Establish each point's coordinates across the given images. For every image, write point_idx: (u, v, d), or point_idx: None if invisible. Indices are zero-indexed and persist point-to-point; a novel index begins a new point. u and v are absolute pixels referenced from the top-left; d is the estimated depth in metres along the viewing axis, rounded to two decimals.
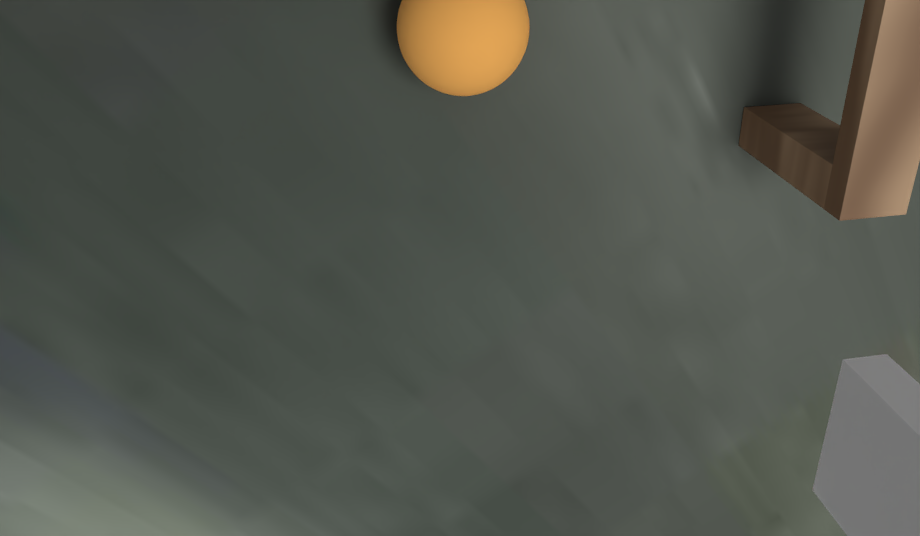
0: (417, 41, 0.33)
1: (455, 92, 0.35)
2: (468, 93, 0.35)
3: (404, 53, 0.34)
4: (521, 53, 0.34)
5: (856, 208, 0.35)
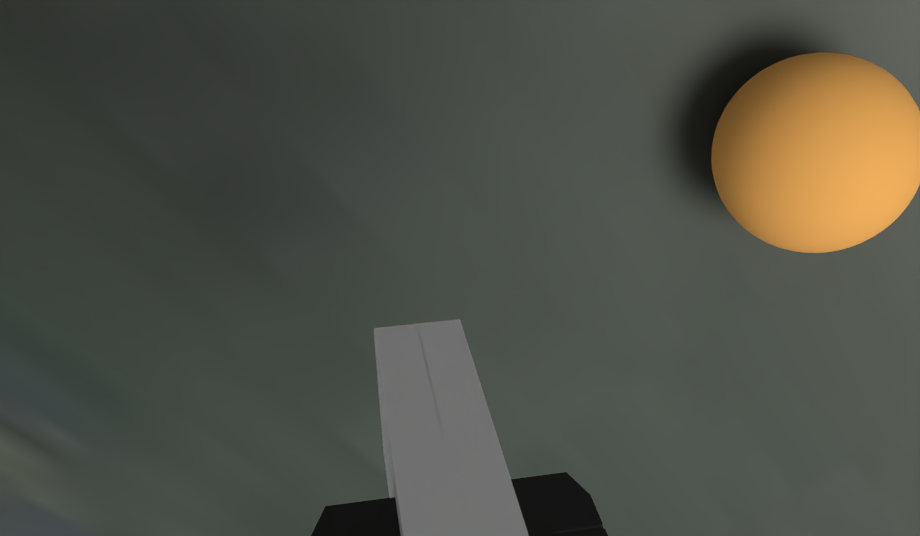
0: (773, 185, 0.22)
1: (806, 251, 0.23)
2: (823, 252, 0.23)
3: (734, 194, 0.23)
4: None
5: None
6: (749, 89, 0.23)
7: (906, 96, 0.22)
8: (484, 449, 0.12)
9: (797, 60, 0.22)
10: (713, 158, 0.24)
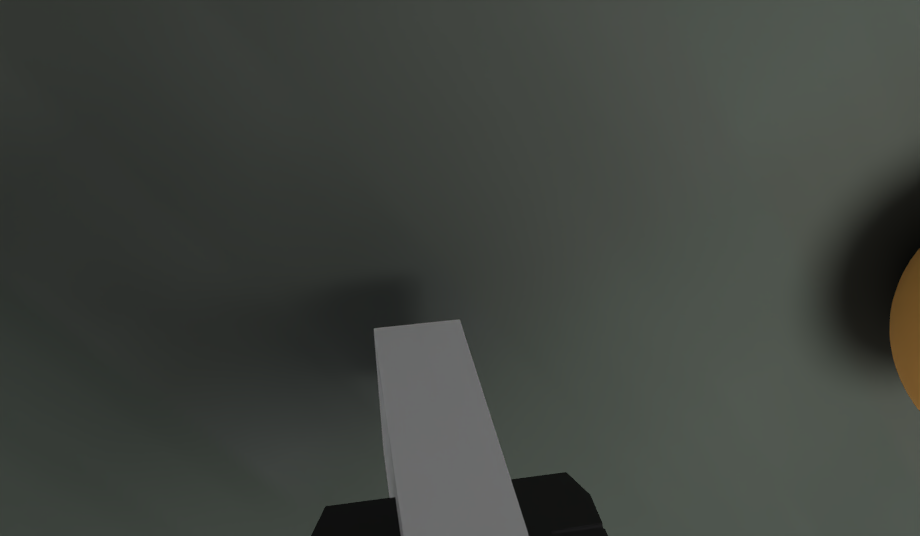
0: None
1: None
2: None
3: None
4: None
5: None
6: None
7: None
8: (484, 449, 0.12)
9: None
10: (900, 337, 0.16)
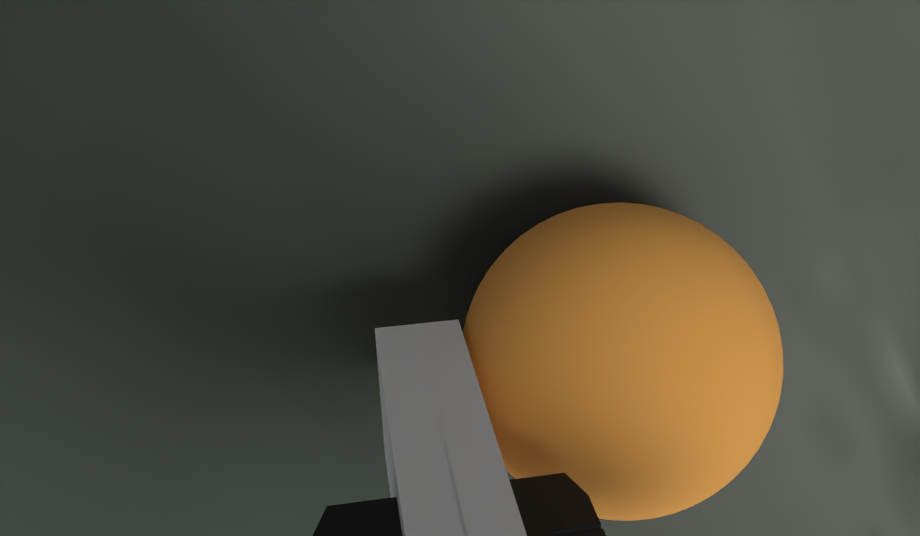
0: (707, 464, 0.13)
1: None
2: None
3: (628, 500, 0.13)
4: None
5: None
6: (571, 332, 0.13)
7: (715, 235, 0.15)
8: (482, 449, 0.12)
9: (602, 252, 0.13)
10: (544, 460, 0.13)
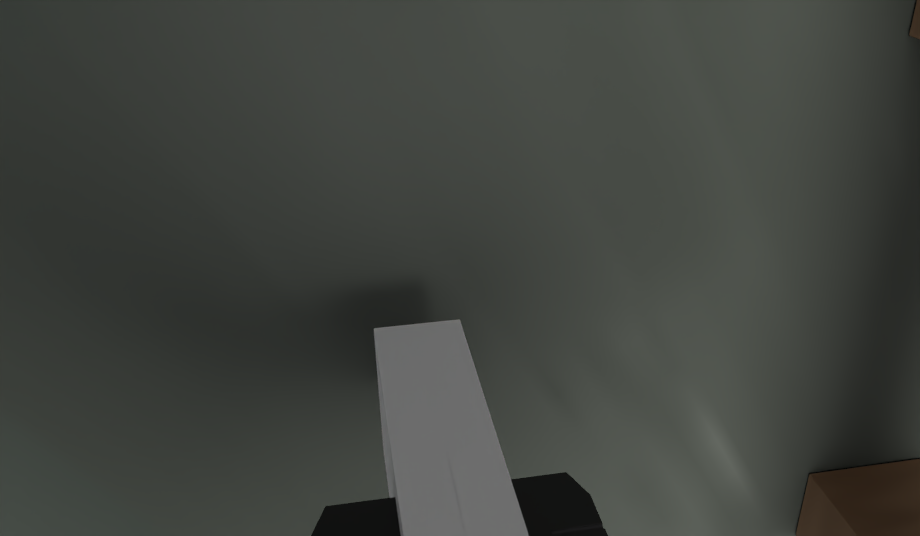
0: None
1: None
2: None
3: None
4: None
5: None
6: None
7: None
8: (484, 449, 0.12)
9: None
10: None
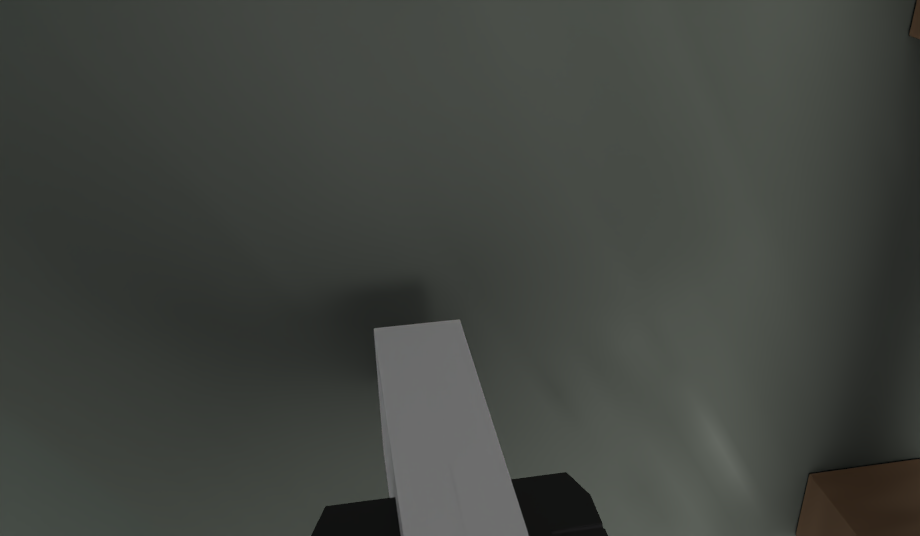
0: None
1: None
2: None
3: None
4: None
5: None
6: None
7: None
8: (484, 449, 0.12)
9: None
10: None
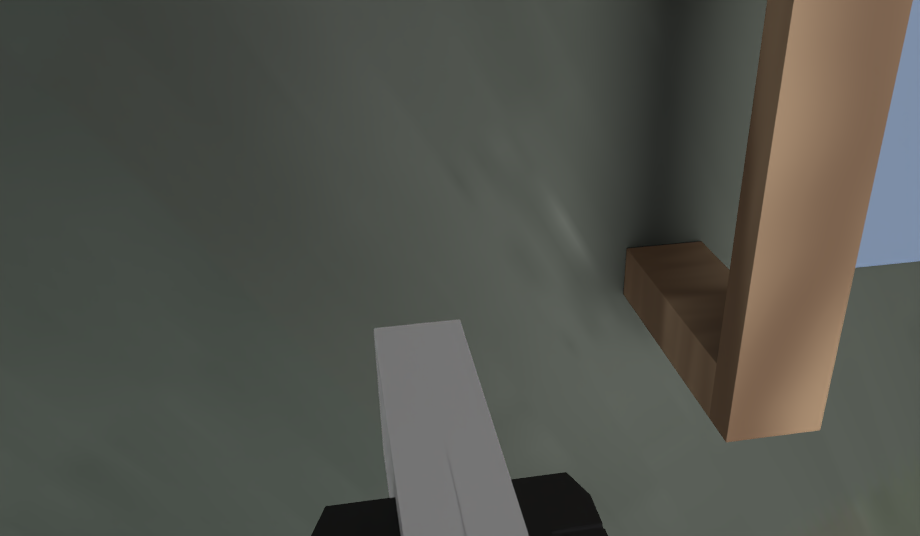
0: None
1: None
2: None
3: None
4: None
5: (749, 426, 0.25)
6: None
7: None
8: (484, 449, 0.12)
9: None
10: None
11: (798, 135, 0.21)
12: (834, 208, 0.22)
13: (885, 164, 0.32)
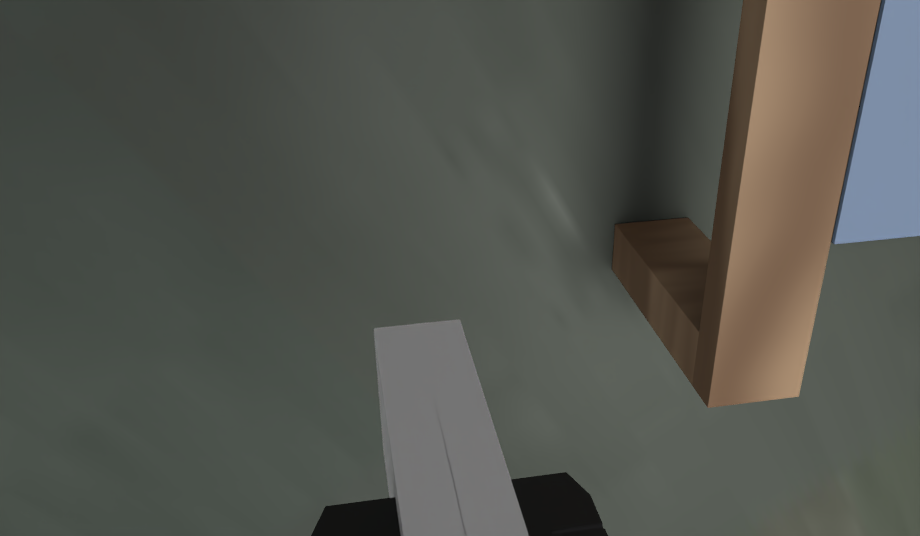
0: None
1: None
2: None
3: None
4: None
5: (730, 392, 0.26)
6: None
7: None
8: (484, 449, 0.12)
9: None
10: None
11: (775, 108, 0.22)
12: (811, 179, 0.23)
13: (867, 142, 0.33)
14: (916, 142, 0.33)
